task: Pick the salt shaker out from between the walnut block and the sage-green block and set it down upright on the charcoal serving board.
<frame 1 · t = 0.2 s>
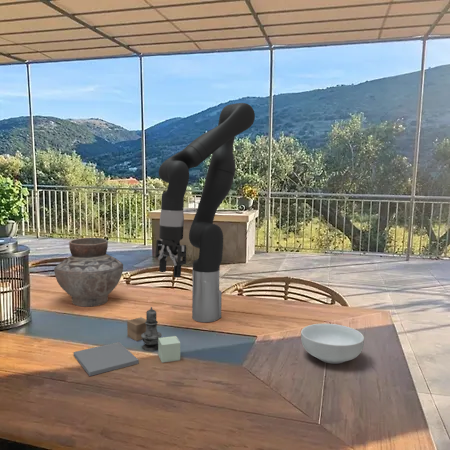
hand: (169, 274, 138), 18 cm above the table, tool pointing down, fingers open, 8 cm apart
salt shaker: (151, 347, 125), on the table
sage block: (169, 357, 118), on the table
ceramic pot: (90, 302, 164), on the table
walnut block: (138, 336, 132), on the table
cereal bowl: (330, 358, 120), on the table
serving board: (105, 359, 116), on the table
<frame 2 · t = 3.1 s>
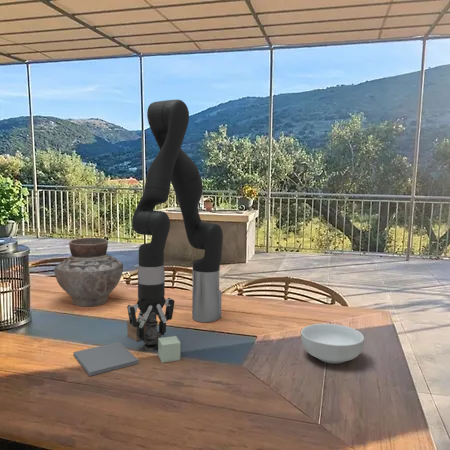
hand: (151, 336, 124), 3 cm above the table, tool pointing down, fingers closed on salt shaker, 6 cm apart
salt shaker: (151, 347, 125), on the table, touching gripper
everything else where it was.
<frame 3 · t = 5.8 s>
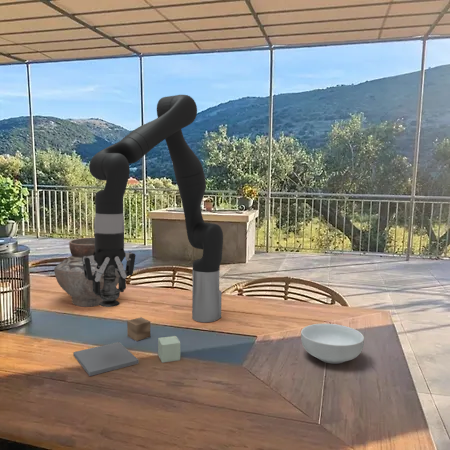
hand: (109, 292, 114), 18 cm above the table, tool pointing down, fingers closed on salt shaker, 6 cm apart
salt shaker: (109, 304, 115), point 15 cm above the table, touching gripper
everything else where it was.
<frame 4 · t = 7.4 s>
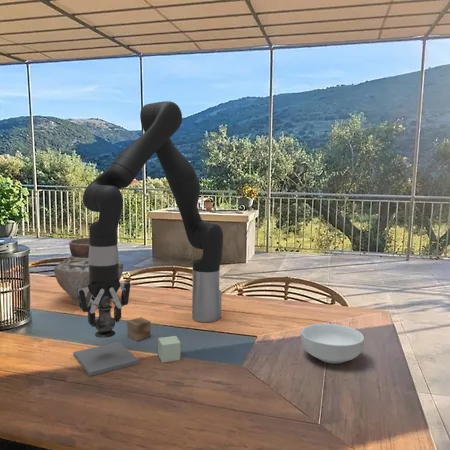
hand: (104, 323, 115), 10 cm above the table, tool pointing down, fingers closed on salt shaker, 6 cm apart
salt shaker: (105, 334, 115), point 7 cm above the table, touching gripper
everything else where it was.
when the fingers open (5 cm above the table, at t = 8.8 s): salt shaker drops 1 cm, resting on serving board.
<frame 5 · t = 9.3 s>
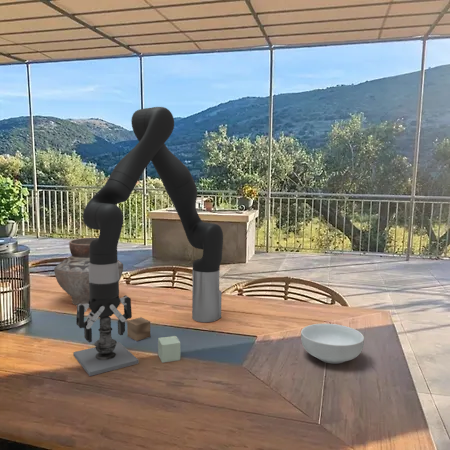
hand: (105, 337, 115), 6 cm above the table, tool pointing down, fingers open, 8 cm apart
salt shaker: (105, 356, 116), point 1 cm above the table, touching serving board
everything else where it was.
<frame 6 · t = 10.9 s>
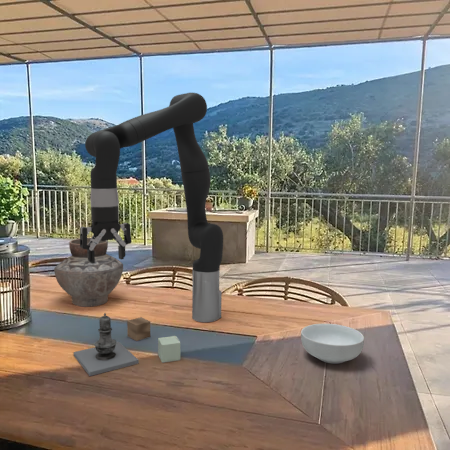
hand: (107, 260, 123), 25 cm above the table, tool pointing down, fingers open, 8 cm apart
nothing on the table moved.
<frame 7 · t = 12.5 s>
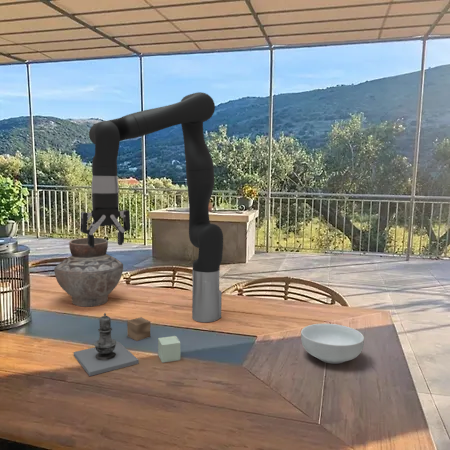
hand: (106, 246, 128), 28 cm above the table, tool pointing down, fingers open, 8 cm apart
nothing on the table moved.
at the end: salt shaker inside the target area on the serving board (0.1 cm from its centre), point 0.8 cm above the serving board's base; salt shaker tilted 0°; the gripper is holding nothing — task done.
